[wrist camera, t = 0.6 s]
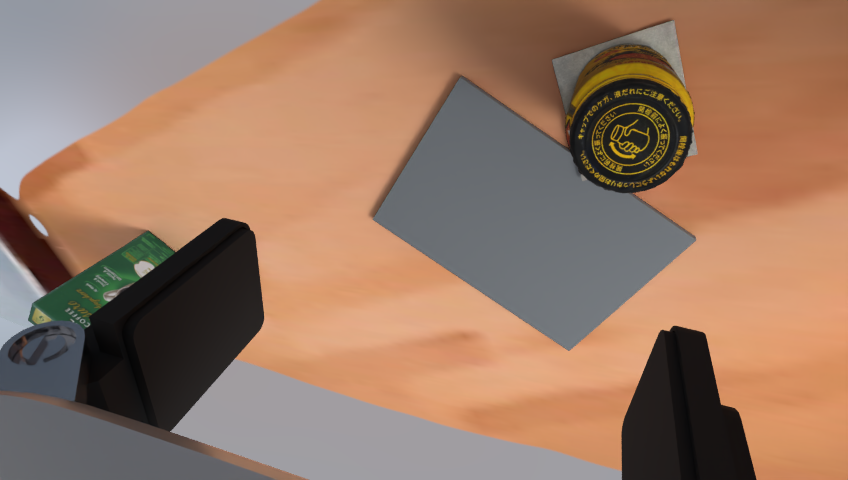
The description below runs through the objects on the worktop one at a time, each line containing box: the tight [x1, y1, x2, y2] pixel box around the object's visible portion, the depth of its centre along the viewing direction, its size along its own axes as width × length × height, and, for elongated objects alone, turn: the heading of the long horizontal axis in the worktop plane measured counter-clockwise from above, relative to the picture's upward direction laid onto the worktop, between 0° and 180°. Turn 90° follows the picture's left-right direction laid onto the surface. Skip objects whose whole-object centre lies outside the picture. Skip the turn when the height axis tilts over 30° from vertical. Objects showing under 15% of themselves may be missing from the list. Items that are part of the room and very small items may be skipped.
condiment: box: [552, 20, 698, 193], centre depth 29 cm, size 7×8×12 cm
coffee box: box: [28, 231, 175, 329], centre depth 49 cm, size 8×3×13 cm, turn 52°
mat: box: [373, 76, 696, 351], centre depth 41 cm, size 20×14×1 cm
